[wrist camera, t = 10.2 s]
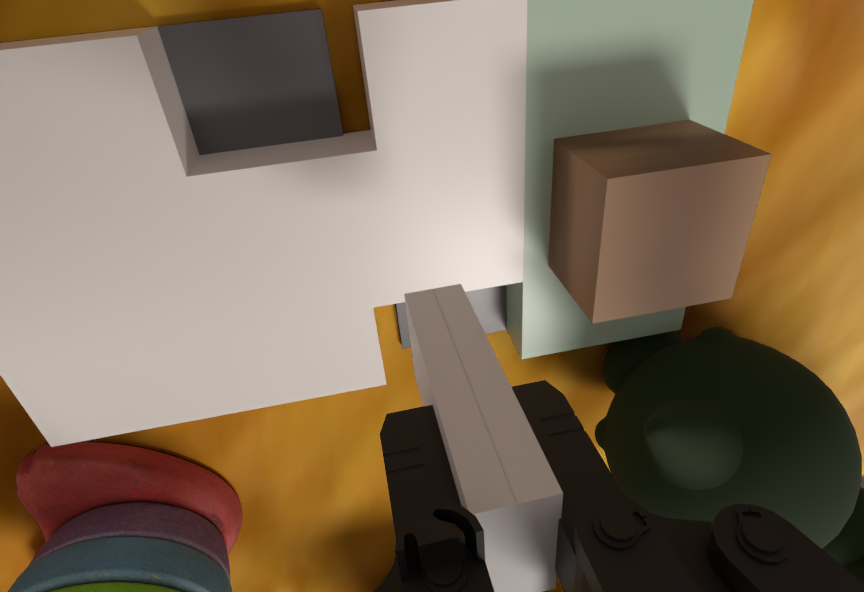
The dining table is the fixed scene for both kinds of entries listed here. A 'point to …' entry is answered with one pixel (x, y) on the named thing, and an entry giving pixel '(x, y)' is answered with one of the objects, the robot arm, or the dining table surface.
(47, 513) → the stacking bear
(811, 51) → the dining table surface
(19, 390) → the trap deck
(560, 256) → the walnut block
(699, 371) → the toy figurine
